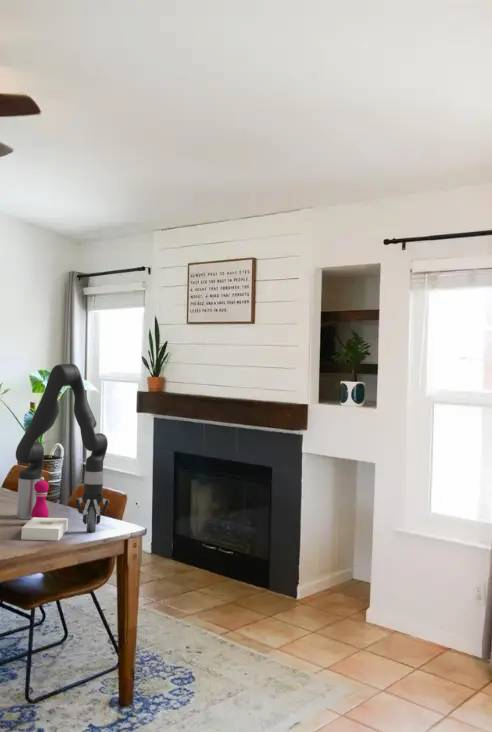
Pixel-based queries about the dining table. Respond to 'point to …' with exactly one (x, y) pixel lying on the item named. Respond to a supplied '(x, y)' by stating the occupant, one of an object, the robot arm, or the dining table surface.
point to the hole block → (44, 529)
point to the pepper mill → (40, 499)
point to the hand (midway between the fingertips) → (91, 523)
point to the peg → (91, 520)
